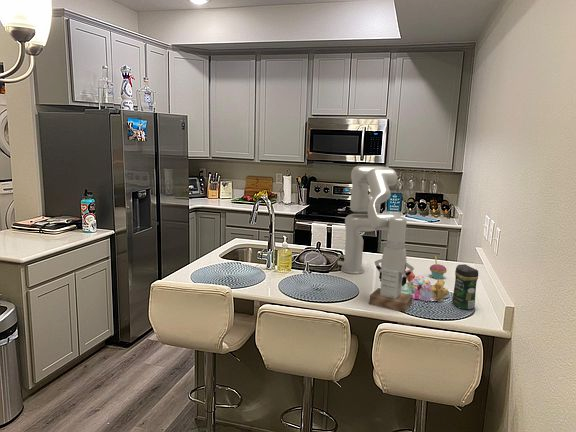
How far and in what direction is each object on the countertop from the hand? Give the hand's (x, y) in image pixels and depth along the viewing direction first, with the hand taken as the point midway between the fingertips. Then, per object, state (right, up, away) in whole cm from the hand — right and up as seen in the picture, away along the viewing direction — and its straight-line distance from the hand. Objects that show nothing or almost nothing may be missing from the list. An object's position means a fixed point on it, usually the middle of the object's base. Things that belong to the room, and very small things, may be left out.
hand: (392, 282), depth 194 cm
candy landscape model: (+18, -8, +17) cm, 26 cm away
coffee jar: (+32, -11, +2) cm, 34 cm away
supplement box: (-1, -6, +1) cm, 6 cm away
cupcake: (+34, -4, +42) cm, 54 cm away
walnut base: (0, -10, +2) cm, 10 cm away
